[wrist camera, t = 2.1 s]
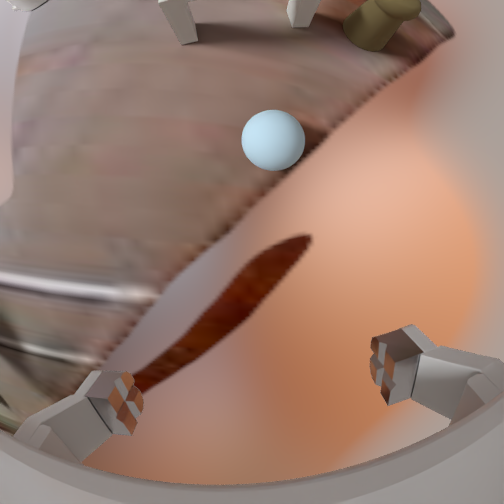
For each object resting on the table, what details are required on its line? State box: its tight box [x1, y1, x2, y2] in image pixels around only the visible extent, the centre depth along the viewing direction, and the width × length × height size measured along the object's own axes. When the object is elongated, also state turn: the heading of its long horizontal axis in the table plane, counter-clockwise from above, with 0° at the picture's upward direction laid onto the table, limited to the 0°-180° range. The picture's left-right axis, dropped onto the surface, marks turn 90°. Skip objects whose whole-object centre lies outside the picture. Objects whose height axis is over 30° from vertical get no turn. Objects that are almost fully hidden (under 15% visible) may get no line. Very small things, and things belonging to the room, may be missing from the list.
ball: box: [242, 110, 305, 171], centre depth 24 cm, size 6×6×6 cm
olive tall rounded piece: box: [343, 0, 421, 52], centre depth 17 cm, size 6×6×11 cm
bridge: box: [158, 0, 321, 45], centre depth 18 cm, size 3×15×10 cm, turn 101°
